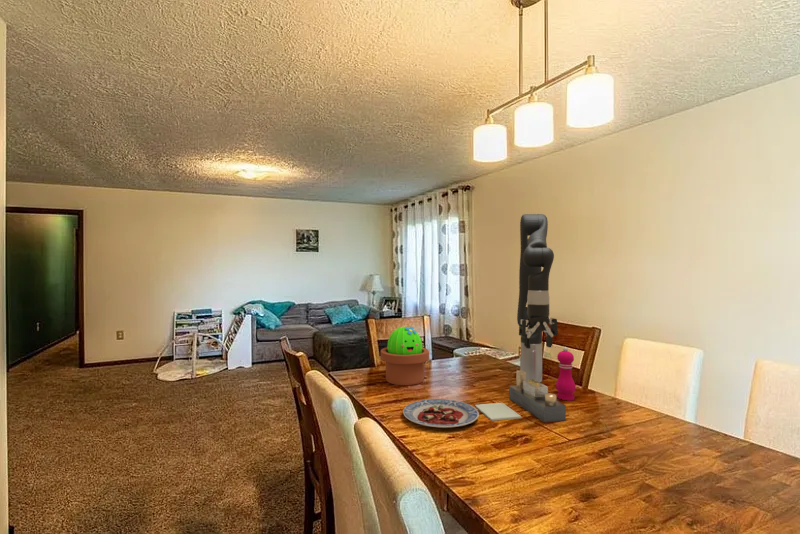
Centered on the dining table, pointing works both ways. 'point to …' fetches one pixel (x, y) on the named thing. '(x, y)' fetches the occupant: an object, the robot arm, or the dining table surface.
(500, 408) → the rubber mat
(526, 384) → the white rectangular block
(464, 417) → the ceramic plate
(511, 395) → the hand plane
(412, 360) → the potted cactus
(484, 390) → the dining table surface
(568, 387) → the pepper mill
